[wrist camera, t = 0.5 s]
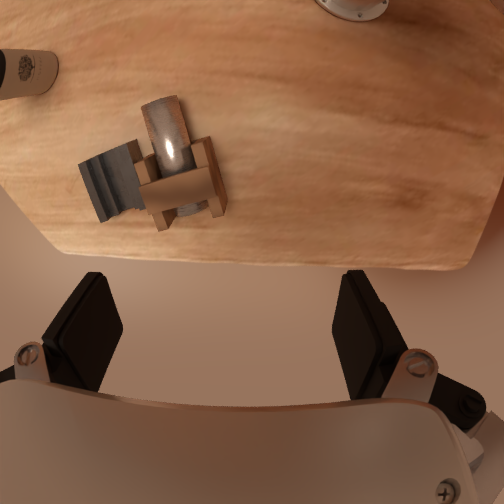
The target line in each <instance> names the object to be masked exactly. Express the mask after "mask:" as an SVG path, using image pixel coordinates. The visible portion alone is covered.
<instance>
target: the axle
mask: <svg viewBox="0 0 504 504" xmlns="http://www.w3.org/2000/svg"><path fill="white" fill-rule="evenodd" d="M141 110H142V114H143V117H144V120H145V124H146V127H147V130H148V134H149V137H150V140H151V143H152V146H153V150H154V153H155V156H156V159H157V162H158V165H159V168H160V171H161V174H162V177H163V178H165V177H168V176H172V175H175V174H178V173H182V172H185V171H189V170H192V169H196V168H197V165H196V162H195V158H194V155H193V152H192V148H191V143H190V139H189V136H188V133H187V129H186V126H185V122H184V119H183V115H182V112H181V108H180V105H179V101H178V98H177V95H173V96H168V97H165V98H161V99H158V100H155V101H153V102H150V103H148V104H145V105H143V106H142V107H141ZM208 205H209V204H208V201H207V199H206V200H203V201H199V202H195V203H191V204H187V205H183V206H180V207H176V208H173V209H174V212H175V215H176V216H178V217H183V216H189V215H192V214H195V213H197V212H200V211H202V210H203V209H205V208H206V207H207V206H208Z"/></svg>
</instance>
